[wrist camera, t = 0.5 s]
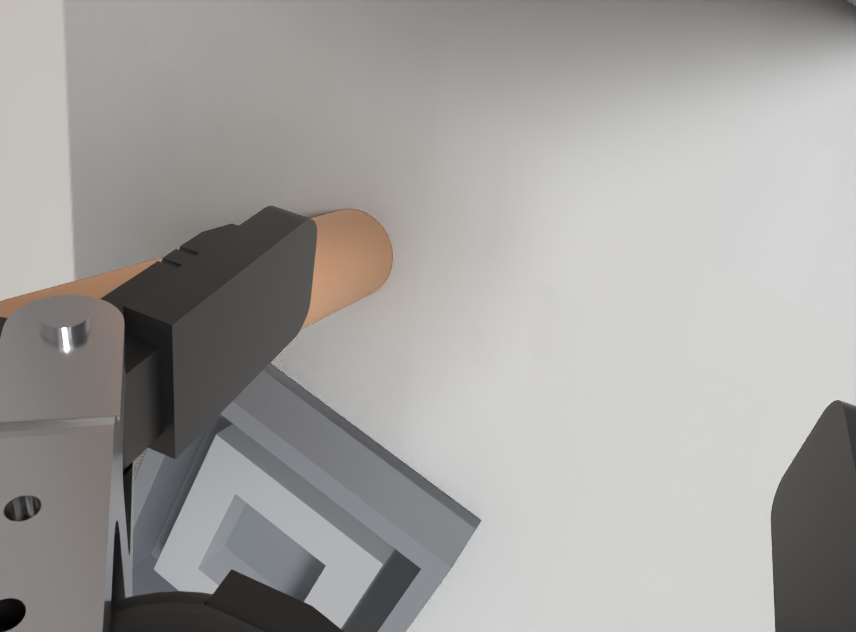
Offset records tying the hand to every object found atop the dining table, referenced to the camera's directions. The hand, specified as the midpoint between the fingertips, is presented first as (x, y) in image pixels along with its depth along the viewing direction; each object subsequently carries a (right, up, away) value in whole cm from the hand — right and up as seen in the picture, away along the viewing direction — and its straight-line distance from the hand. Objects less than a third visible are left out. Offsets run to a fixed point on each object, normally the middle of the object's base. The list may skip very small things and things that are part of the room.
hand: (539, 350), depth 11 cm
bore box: (-9, -11, +28) cm, 31 cm away
